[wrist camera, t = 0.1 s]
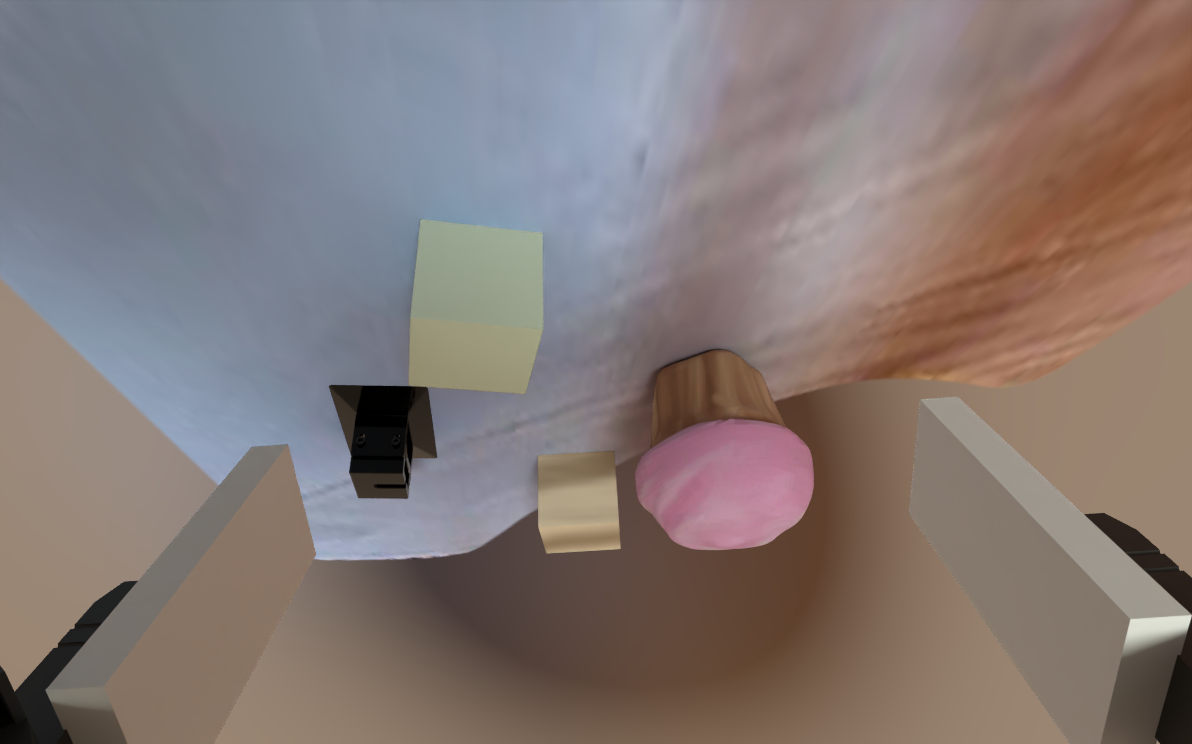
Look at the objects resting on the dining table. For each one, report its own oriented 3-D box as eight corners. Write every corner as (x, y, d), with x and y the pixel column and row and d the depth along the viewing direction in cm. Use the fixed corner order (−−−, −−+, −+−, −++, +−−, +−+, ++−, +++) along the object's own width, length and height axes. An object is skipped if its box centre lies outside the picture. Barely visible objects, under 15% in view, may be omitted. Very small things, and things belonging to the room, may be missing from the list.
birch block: (537, 454, 50) (538, 527, 48) (614, 449, 50) (618, 522, 48) (545, 484, 55) (546, 553, 52) (616, 480, 55) (620, 548, 52)
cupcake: (597, 367, 41) (606, 547, 36) (736, 300, 37) (770, 495, 32) (689, 422, 47) (709, 584, 42) (819, 371, 43) (859, 545, 38)
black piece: (451, 459, 52) (447, 525, 50) (339, 457, 51) (329, 524, 49) (442, 361, 41) (436, 439, 39) (301, 357, 41) (286, 436, 38)
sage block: (420, 217, 31) (410, 317, 29) (542, 231, 32) (543, 329, 30) (418, 292, 35) (408, 385, 33) (526, 302, 36) (525, 394, 34)
